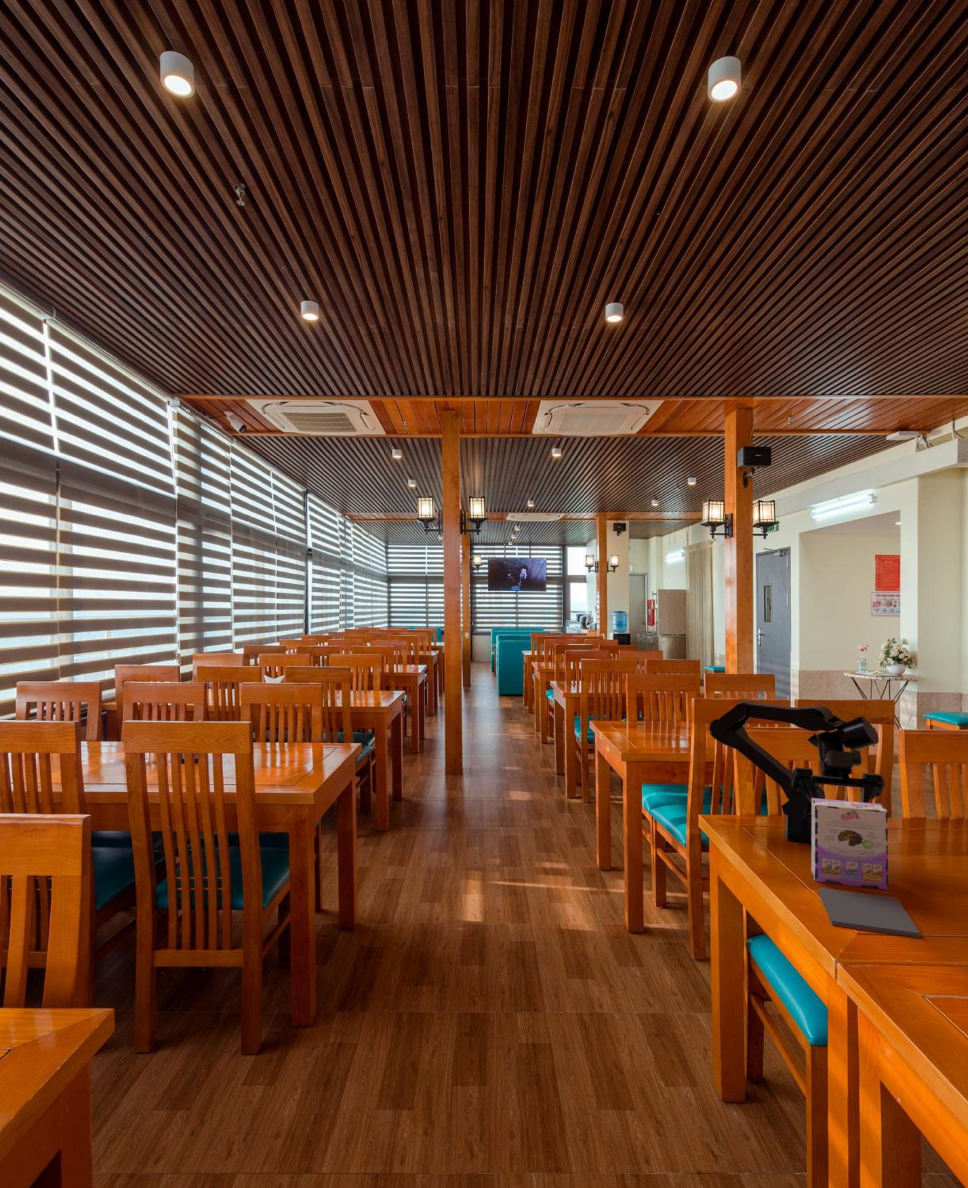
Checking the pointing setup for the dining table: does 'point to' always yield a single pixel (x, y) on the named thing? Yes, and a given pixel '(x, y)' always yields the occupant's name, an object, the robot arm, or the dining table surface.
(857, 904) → the mat
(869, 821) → the candy box
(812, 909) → the dining table surface
